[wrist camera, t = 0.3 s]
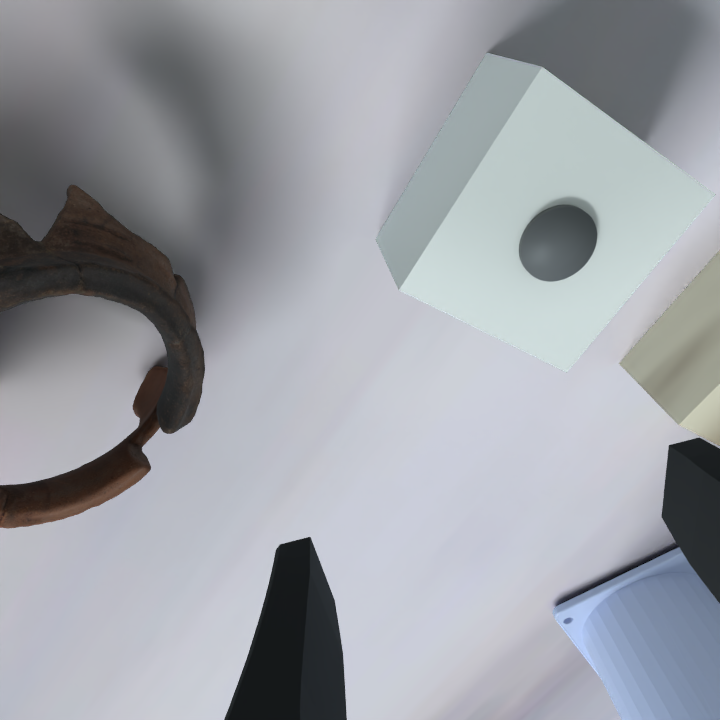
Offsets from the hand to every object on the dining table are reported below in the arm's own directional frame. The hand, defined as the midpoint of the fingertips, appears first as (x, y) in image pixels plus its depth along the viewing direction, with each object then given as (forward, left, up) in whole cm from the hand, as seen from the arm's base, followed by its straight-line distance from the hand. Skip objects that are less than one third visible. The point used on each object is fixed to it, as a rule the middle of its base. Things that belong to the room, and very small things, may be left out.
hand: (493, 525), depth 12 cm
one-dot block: (+1, -5, -10) cm, 11 cm away
